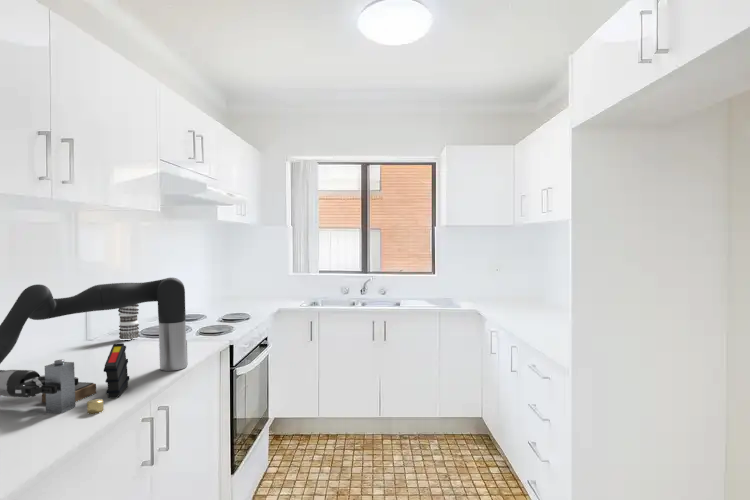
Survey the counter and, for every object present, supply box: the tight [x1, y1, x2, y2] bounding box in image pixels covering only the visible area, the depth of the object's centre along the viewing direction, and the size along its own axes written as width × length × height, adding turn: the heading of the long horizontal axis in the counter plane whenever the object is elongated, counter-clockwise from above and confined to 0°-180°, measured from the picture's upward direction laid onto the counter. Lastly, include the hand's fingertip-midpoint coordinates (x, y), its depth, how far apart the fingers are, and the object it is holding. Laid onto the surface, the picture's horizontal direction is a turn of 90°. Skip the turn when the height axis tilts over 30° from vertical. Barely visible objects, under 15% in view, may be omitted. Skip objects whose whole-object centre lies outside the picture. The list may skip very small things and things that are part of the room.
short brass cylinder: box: [86, 398, 105, 415], centre depth 142 cm, size 4×4×3 cm
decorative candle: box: [117, 304, 140, 340], centre depth 242 cm, size 9×9×25 cm
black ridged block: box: [103, 343, 130, 399], centre depth 158 cm, size 4×13×15 cm, turn 12°
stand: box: [41, 381, 97, 403], centre depth 154 cm, size 10×10×3 cm
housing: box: [44, 359, 76, 414], centre depth 143 cm, size 5×5×14 cm
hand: (66, 385), depth 143 cm, fingers open, 7 cm apart
